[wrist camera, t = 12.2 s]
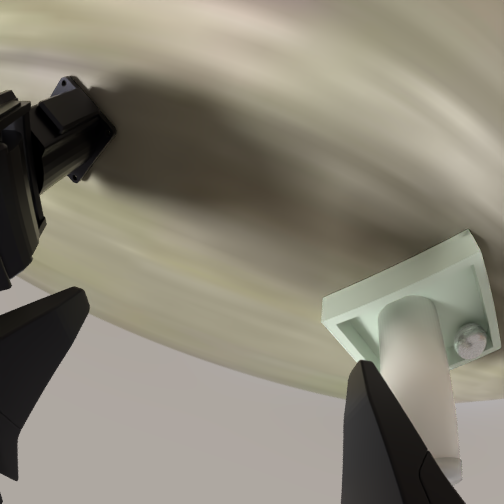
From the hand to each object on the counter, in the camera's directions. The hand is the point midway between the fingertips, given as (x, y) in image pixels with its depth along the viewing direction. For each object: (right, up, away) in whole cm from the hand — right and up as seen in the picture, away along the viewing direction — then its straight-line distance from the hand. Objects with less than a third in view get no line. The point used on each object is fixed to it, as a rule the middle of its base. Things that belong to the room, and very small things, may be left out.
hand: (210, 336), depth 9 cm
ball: (+20, -4, +14) cm, 25 cm away
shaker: (+14, -3, +14) cm, 20 cm away
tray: (+16, -3, +15) cm, 22 cm away
